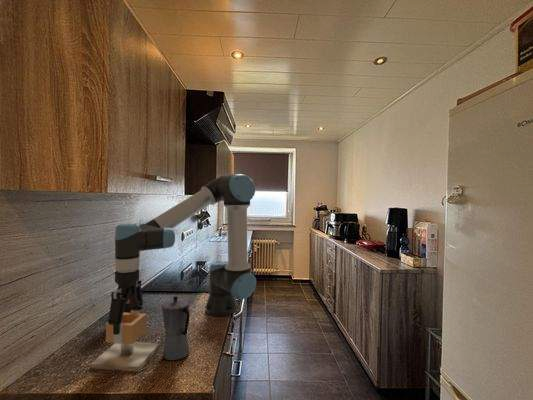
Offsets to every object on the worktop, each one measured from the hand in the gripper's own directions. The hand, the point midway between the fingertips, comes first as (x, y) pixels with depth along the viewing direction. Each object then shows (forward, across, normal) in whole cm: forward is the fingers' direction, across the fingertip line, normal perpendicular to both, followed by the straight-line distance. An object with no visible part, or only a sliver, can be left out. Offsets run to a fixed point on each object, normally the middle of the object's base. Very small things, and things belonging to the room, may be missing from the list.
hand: (126, 335), depth 96 cm
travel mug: (+8, -27, -16) cm, 32 cm away
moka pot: (+8, -4, +16) cm, 18 cm away
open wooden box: (0, 0, 0) cm, 0 cm away
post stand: (+8, 0, 0) cm, 8 cm away
